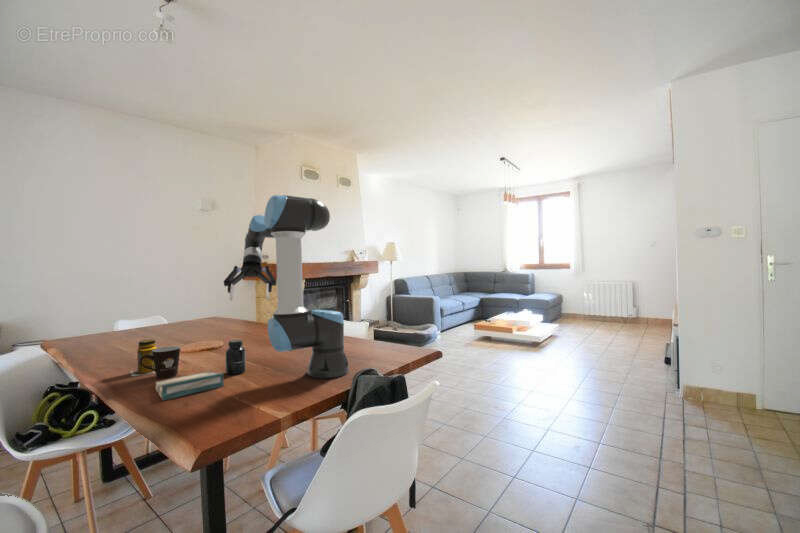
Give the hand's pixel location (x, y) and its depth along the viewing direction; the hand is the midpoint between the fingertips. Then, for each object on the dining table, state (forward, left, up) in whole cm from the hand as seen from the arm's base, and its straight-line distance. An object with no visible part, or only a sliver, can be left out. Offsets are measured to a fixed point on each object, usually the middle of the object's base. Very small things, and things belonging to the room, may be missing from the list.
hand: (249, 298), depth 141 cm
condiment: (+20, +33, -27) cm, 47 cm away
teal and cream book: (-12, +24, -27) cm, 38 cm away
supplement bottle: (-6, +8, -27) cm, 29 cm away
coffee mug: (+9, +29, -27) cm, 41 cm away
